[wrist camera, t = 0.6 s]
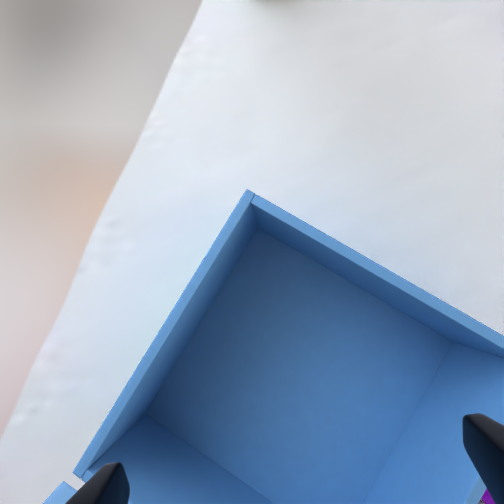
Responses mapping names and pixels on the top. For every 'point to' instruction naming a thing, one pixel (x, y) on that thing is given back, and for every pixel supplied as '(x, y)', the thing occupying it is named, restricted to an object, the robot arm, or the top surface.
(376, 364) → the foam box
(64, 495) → the flap
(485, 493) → the crystal
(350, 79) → the top surface
